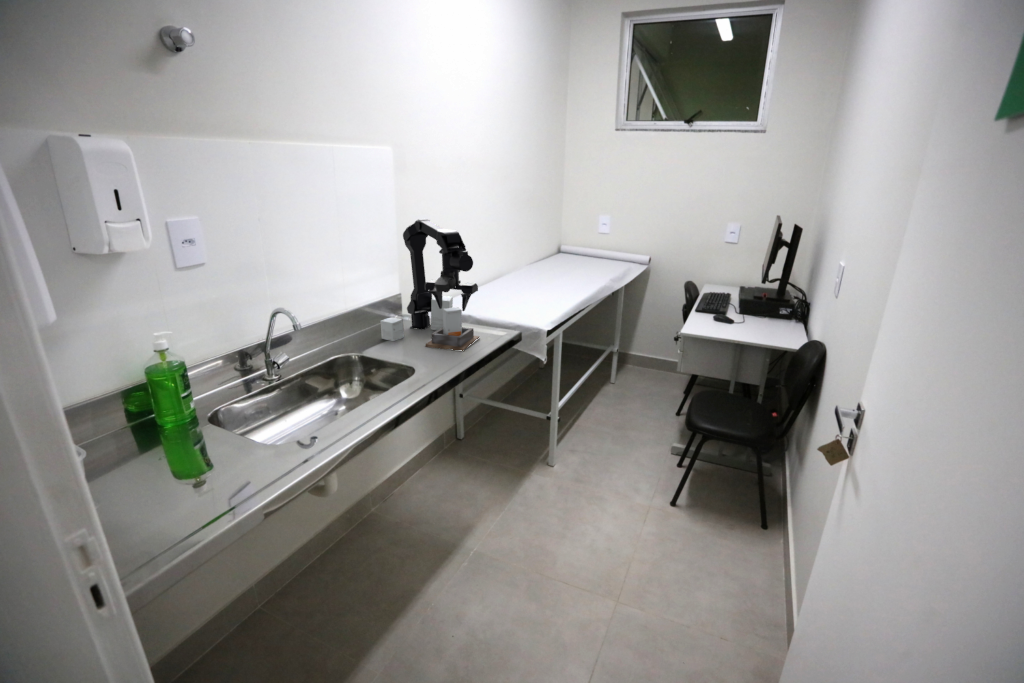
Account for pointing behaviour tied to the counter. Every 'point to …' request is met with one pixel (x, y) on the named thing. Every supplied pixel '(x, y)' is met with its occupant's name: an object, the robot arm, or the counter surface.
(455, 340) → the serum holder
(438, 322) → the supplement box
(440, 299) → the robot arm
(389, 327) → the skincare box
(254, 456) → the counter surface
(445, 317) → the skincare box
